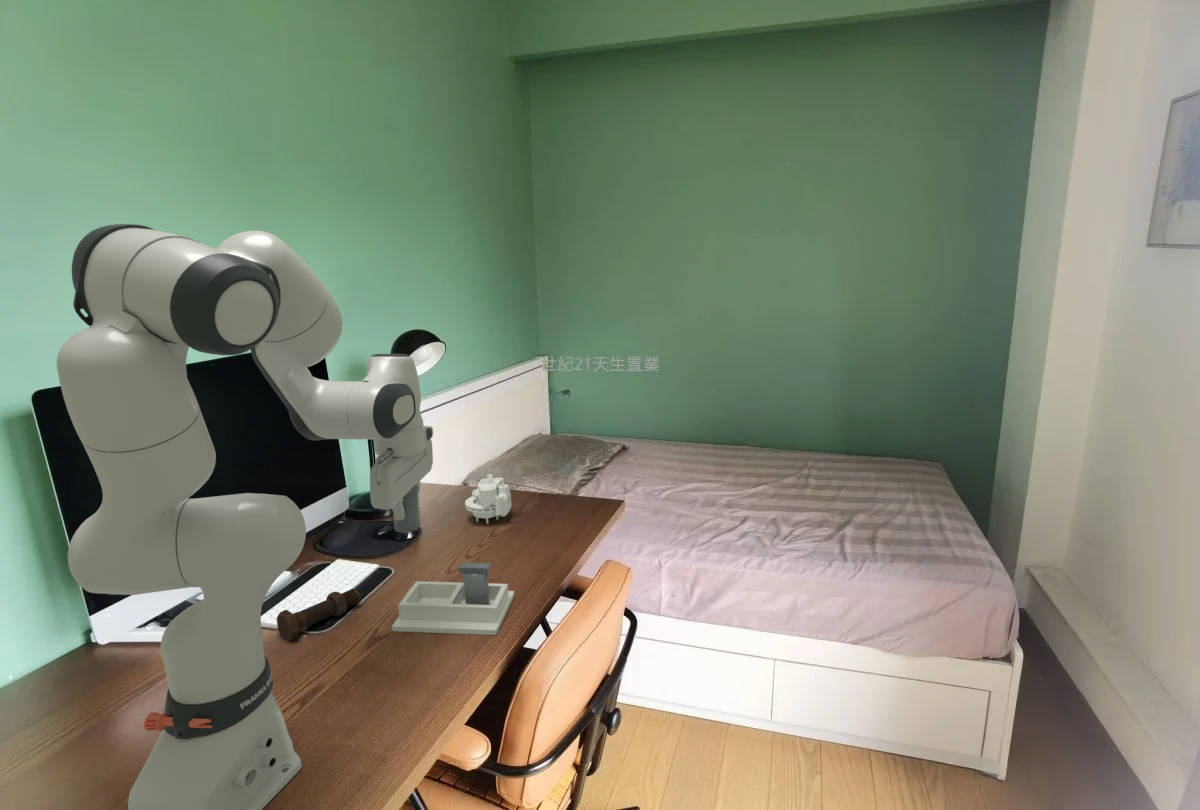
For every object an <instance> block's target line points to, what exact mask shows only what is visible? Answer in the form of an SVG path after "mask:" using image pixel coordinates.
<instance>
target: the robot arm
mask: <svg viewBox="0 0 1200 810" xmlns="http://www.w3.org/2000/svg"><path fill="white" fill-rule="evenodd" d="M71 278H72V285H73V288H74V297H73V304H72V305H73V309H74V311H75V313H76V314H77V315H78V317H79V318H80V319H81V320H82V321H83V323H85V324H86V325H88V326H89V327H87V328H84V329H82V330H80V331H79V332H76V333H75V334H73V335H72V336H71V337H70V338H68V339H67V340H65V342H64V343H63V344H62V346H61V347H60V349H59V351H58V353H57V355H56V356H57V357H56V370H57V375H58V380H59V384H60V388H61V389H60V390H61V393H62V397H63V400H64V404H65V406H66V410H67V413H68V415H69V418H70V420H71V422H72V425H73V428H74V430H75V432H76V434H77V436H78V437H79V441H80V442H81V443H82V446H83V447H84V450H85V452H86V454H87V455H88V458H89V460H90V462H91V464H92V467H93V469H94V471H95V474H96V477H97V479H98V483H100V487H101V491H102V502H101V504H100V506H99V508H98V509H97V510H96V512H95V513H93V514H92V515H90V516H89V517H88V518H86V519H85V520H84V521H83V522H82V523H81V524H80V525H79V527H78V528H77V529H76V530H75V533H74V534H73V535H72V538H71V540H70V543H69V546H68V550H67V563H68V569H69V571H70V573H71V575H72V578H73V579H74V580H75V582H76V583H77V584H78V585H79V587H81V588H82V589H83V590H85V591H86V592H88V593H91V594H100V595H102V594H104V595H105V594H106V595H122V596H123V595H125V596H127V595H128V596H129V595H131V596H135V595H144V594H151V593H158V592H165V591H173V590H180V589H188V588H189V589H190V588H199V589H201V591H202V594H203V598H202V599H200V600H198V601H197V602H195V603H194V604H192V605H190V606H189V607H187V608H186V609H184V610H182V612H180V613H179V614H178V615H176V616H175V617H174V618H173V619H172V620H171V621H170V622H169V623H168V624H167V627H166V628H165V630H164V631H163V634H162V636H161V642H160V652H161V656H162V661H163V665H164V671H165V676H166V681H167V685H168V688H167V690H166V695H165V696H166V697H165V705H164V712H162V713H159V712H155V711H154V712H151V713H149V714H147V715H146V718H145V719H144V722H143V728H144V730H145V731H149V732H150V731H158V732H160V735H159V737H158V739H157V741H156V742H155V744H154V746H153V748H152V750H151V752H150V754H149V756H148V757H147V759H146V761H145V763H144V764H143V767H142V769H141V770H140V772H139V774H138V776H137V778H136V779H135V782H134V783H133V785H132V787H131V789H130V791H129V795H128V800H127V810H263V809H264V808H265V806H267V804H269V803H270V802H271V800H272V799H274V797H275V796H276V795H277V794H278V793H279V792H280V791H281V790H282V789H283V788H284V787H285V786H286V785H287V784H288V783H289V782H290V781H291V780H292V779H293V778H294V776H296V775H297V774H298V772H299V771H300V770H301V769H302V766H303V763H302V761H301V758H300V756H299V755H298V753H297V752H295V750H294V743H293V740H292V738H291V736H290V735H289V731H288V728H287V724H286V722H285V719H284V716H283V715H284V714H283V712H282V710H281V708H280V706H279V705H278V702H277V701H276V698H275V695H274V694H273V691H272V690H273V686H274V680H273V671H272V669H271V666H270V662H269V659H268V657H267V656H266V655H265V650H264V645H263V634H262V620H261V619H262V617H261V615H262V609H263V604H264V601H265V598H266V597H267V594H268V593H269V590H270V589H271V587H272V585H273V584H274V582H275V581H276V580H277V579H278V578H279V577H280V576H281V575H282V574H283V573H284V572H285V571H286V570H288V569H289V568H291V566H292V565H293V564H294V563H295V562H296V561H297V559H298V557H299V556H300V554H301V552H302V550H303V548H304V546H305V542H306V536H307V527H306V526H307V525H306V521H305V518H304V516H303V513H302V512H301V510H300V508H299V506H298V505H297V504H296V503H295V502H294V501H293V500H291V498H289V497H288V496H286V495H282V494H281V495H280V494H268V493H256V492H255V493H254V492H253V493H252V492H245V493H235V494H227V495H226V494H225V495H217V496H208V497H199V498H198V497H197V498H190V497H191V496H193V495H194V494H196V492H197V491H199V490H200V489H201V488H202V487H203V486H204V485H205V484H206V482H207V481H209V480H210V477H211V476H212V474H213V471H214V470H215V467H216V462H217V461H216V460H217V457H216V456H217V455H216V453H217V452H216V450H215V446H214V443H213V441H212V438H211V436H210V433H209V430H208V428H207V425H206V424H207V423H206V422H205V419H204V416H203V413H202V411H201V408H200V404H199V402H198V399H197V397H196V394H195V392H194V390H193V388H192V386H191V384H190V381H189V379H188V373H187V371H188V370H187V357H188V351H189V348H191V349H193V350H195V351H197V352H200V353H202V354H210V355H217V356H218V355H219V356H235V355H236V356H237V355H238V356H239V355H240V354H241V355H242V354H244V353H247V352H249V351H250V352H251V357H252V359H253V361H254V363H255V366H256V367H257V368H258V369H259V371H260V372H261V375H263V377H264V379H265V380H266V381H267V382H268V384H269V386H270V387H271V388H272V389H273V391H274V392H275V394H276V395H277V397H279V399H280V401H281V402H282V404H283V405H284V406H285V408H286V410H287V412H288V414H289V417H290V420H291V423H292V425H293V427H294V428H295V429H296V430H297V431H298V433H300V435H301V436H303V438H305V439H307V440H310V441H323V440H324V441H325V440H326V441H327V440H373V445H374V446H373V447H374V453H375V455H376V456H377V457H376V458H375V461H376V462H375V463H374V464H373V465H372V466H371V468H370V470H369V471H370V473H369V493H370V494H369V495H370V504H371V505H372V507H373V508H374V509H375V510H377V509H378V510H379V509H380V510H392V514H393V513H394V515H393V520H394V519H396V520H403V519H404V518H405V517H406V515H407V514H406V508H404V507H403V505H402V502H403V497H404V496H405V495H406V494H407V493H408V492H409V491H410V490H411V489H412V488H413V487H414V486H415V485H417V494H418V504H419V503H420V497H419V494H420V489H421V480H423V479H424V478H425V477H426V476H427V475H428V474H429V473H430V472H431V470H432V468H433V464H434V457H433V455H434V454H433V441H432V439H433V437H434V430H433V429H434V428H433V427H432V426H430V425H428V426H427V425H424V420H423V419H424V418H423V417H422V414H421V409H420V408H421V402H422V396H421V386H420V380H419V375H418V371H417V367H416V364H415V361H414V358H413V357H412V356H410V355H409V354H406V353H405V354H404V353H374V354H372V355H370V356H368V359H367V371H366V372H367V375H366V376H365V377H364V378H363V379H362V380H360V381H356V380H355V381H350V380H349V381H348V380H345V381H344V380H328V379H327V380H326V379H323V378H322V379H321V378H317V377H315V376H313V375H312V373H311V371H310V370H309V369H308V368H309V367H312V366H314V365H317V364H318V363H320V362H321V361H322V360H324V359H325V358H327V356H329V354H331V352H332V351H333V350H334V349H335V348H336V346H337V344H338V343H339V341H340V338H341V335H342V331H343V316H342V313H341V312H342V311H341V310H340V308H339V306H338V303H337V302H336V300H335V298H334V297H333V296H332V294H331V292H330V291H329V290H328V288H326V286H325V285H324V283H323V281H322V280H321V279H320V277H319V276H318V275H317V274H316V273H315V271H313V269H312V268H311V267H310V266H309V265H308V263H307V262H306V261H305V260H304V259H303V258H302V257H301V256H300V255H299V254H298V253H296V251H294V249H292V248H291V247H290V246H289V245H288V244H287V243H286V242H285V241H284V240H282V239H281V238H279V237H278V236H277V235H275V234H273V233H271V232H266V231H263V230H246V231H241V232H238V233H235V234H233V235H231V236H229V237H227V238H225V239H224V240H223V241H222V242H220V244H219V245H217V247H216V248H215V247H213V246H210V245H207V244H204V243H201V242H199V241H197V240H195V239H193V238H190V237H187V236H183V235H180V234H177V233H172V232H168V231H162V230H157V229H154V228H152V227H149V226H145V225H142V224H134V223H132V224H131V223H117V224H116V223H115V224H109V225H105V226H101V227H97V228H95V229H93V230H92V231H90V232H87V234H86V235H84V237H83V238H81V240H80V241H79V243H78V245H77V246H76V249H75V250H74V254H73V257H72V261H71ZM81 310H83V311H84V312H85V314H86V315H87V316H85V314H83V312H82V311H81Z"/></svg>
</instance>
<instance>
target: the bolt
mask: <svg viewBox="0 0 1200 810" xmlns="http://www.w3.org/2000/svg"><path fill="white" fill-rule="evenodd" d="M360 602H361V594H360V593H359V592H358V590H356V589H355V588H351V589H349V590H346V591H344V592H342V593H341V592H338V591H333V592H329V594H328V595H327V596H326V600H323V601H321V602H319V603H316V604H314V605H312V606H309V607H307V608H304V609H303V610H300V611H296V612H294V613H293V612H291V611H290V610H287V609H284V610H282V611H280V612H279V613H278V614H277V617H276V626H277V630H278V632H279V634H280V636H281V638H282V639H284V640H286V641H288V642H293V641H294V640H297V639H298V637H299V633H300V631H302V630H304V629H305V628H307V627H309V626H311V625H314V624H316V623H318V622H320V621H322V620H325V619H327V618H329V617H331V616H332V615H336V616H339V615H341V614H343V613H345V614H346V612H347V610H348V608H351V607H353V606H355V605H358V604H359V603H360ZM339 617H340V616H339Z"/></svg>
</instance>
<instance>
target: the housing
mask: <svg viewBox="0 0 1200 810" xmlns="http://www.w3.org/2000/svg"><path fill="white" fill-rule="evenodd" d="M491 568H492V567H491V563H484V562H483V563H482V562H462V563H461V564H460V565H459V567H458V573H459V574H462V578H463V582H459V581H458V582H456V581H455V582H454V581H453V582H452V581H421V580H420V581H415V583H414V584H413V585H412V586H411V588H409V590H408V591H407V592H406V594H405V595H404V597H403V598H402V599H401V601H400V602H399V603H398V604H397V606H398V607H397V608H398V615H399V616H398V617H397V619H396V620H395V621H394V623H393V624H392V626H391V632H399V633H400V632H402V633H403V632H404V633H405V632H407V633H429V634H430V633H431V634H432V633H433V634H437V633H438V634H452V635H453V634H458V635H480V636H481V635H483V636H497V635H498V632H499V630H500V629H501V626H502V624H503V621H504V620H505V617H506V614H507V613H508V610H509V609H510V606H511V604H512V601H513V599H514V598H515V591H513V590H509V584H508V583H491V582H490V583H489V577H488V575H489V573H490V571H491V570H492V569H491Z"/></svg>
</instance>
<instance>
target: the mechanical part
mask: <svg viewBox="0 0 1200 810" xmlns="http://www.w3.org/2000/svg"><path fill="white" fill-rule="evenodd" d="M486 476H487V477H486V478H482V479H480V481H479V482H478V483H477V488H476V489H473V490H472V491H471V496H470V497H467V499H466V500H465V501H464V508H465V510H467V511H468V512H471V513H472V516H473V517H475V518H476V519H475V520H476V522H477V523H478V522H479V519H485V521H486V522H485V523H486V524H489V519H490V518H494V517H495V519H496V521H497V520H499V517H506V516H507V515H508V514H509V512H510V511H511V508H512V493H511V491H510V486H509V485H508V484H506V483H505V481H504V477H495V478H494V476H493V474H486Z"/></svg>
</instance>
